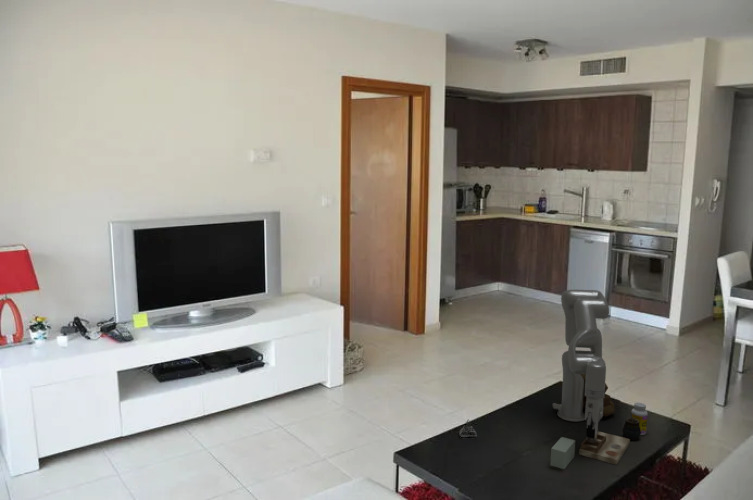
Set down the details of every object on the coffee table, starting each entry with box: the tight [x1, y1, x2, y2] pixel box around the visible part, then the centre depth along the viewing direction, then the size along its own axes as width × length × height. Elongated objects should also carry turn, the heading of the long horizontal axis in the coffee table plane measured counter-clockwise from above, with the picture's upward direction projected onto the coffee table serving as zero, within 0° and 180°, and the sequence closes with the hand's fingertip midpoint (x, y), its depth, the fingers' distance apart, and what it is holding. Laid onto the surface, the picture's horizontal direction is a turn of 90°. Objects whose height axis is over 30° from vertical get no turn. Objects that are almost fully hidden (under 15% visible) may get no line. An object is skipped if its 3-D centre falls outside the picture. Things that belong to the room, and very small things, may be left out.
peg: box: [587, 420, 599, 443], centre depth 249 cm, size 4×4×9 cm
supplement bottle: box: [630, 402, 649, 436], centre depth 268 cm, size 7×7×13 cm
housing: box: [550, 436, 576, 470], centre depth 243 cm, size 6×12×7 cm, turn 145°
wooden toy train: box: [580, 374, 616, 418], centre depth 289 cm, size 20×11×17 cm, turn 36°
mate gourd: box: [622, 412, 641, 441], centre depth 263 cm, size 7×8×10 cm
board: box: [578, 430, 631, 465], centre depth 253 cm, size 15×22×4 cm
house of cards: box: [458, 419, 478, 438], centre depth 267 cm, size 9×9×8 cm
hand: (592, 435), depth 249 cm, fingers closed on peg, 4 cm apart
